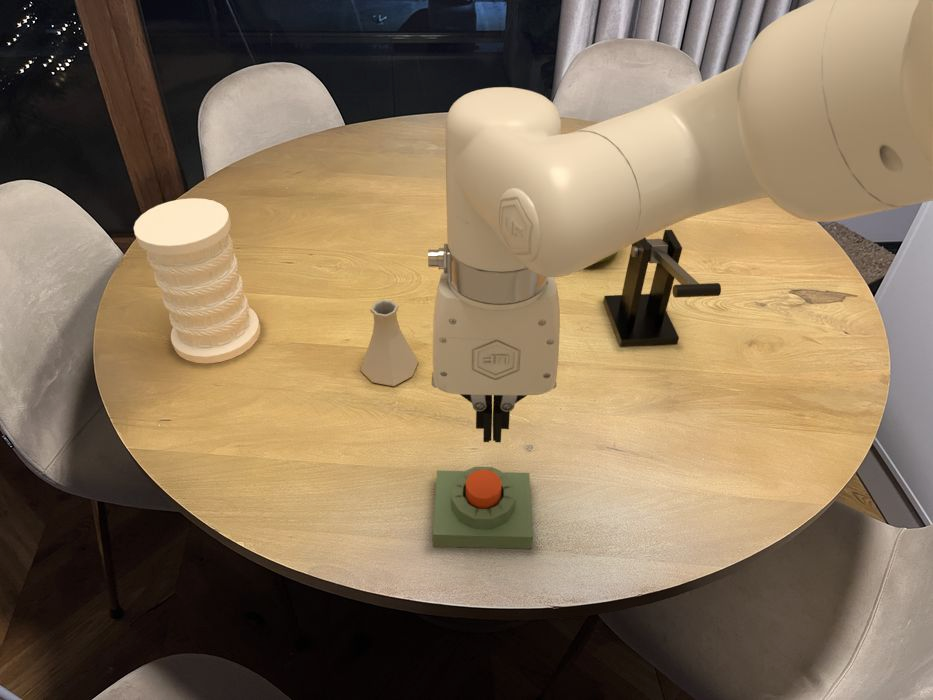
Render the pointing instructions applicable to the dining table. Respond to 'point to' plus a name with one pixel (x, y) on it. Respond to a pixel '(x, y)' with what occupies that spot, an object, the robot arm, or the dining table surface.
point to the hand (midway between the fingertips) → (491, 430)
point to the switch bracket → (644, 299)
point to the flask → (388, 348)
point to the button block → (482, 513)
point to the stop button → (483, 488)
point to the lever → (680, 273)
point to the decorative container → (198, 279)
